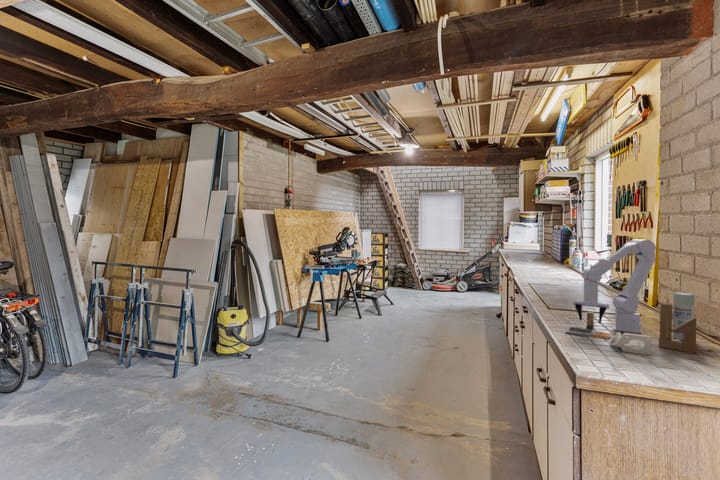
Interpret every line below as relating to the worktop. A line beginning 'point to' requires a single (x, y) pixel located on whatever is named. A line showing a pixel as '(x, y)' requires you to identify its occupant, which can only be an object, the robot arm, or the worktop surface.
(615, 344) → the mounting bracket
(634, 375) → the worktop surface
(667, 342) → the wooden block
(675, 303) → the spray paint can
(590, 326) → the two-tone stacked blocks
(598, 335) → the tile
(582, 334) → the frame
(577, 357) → the worktop surface
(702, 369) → the worktop surface
